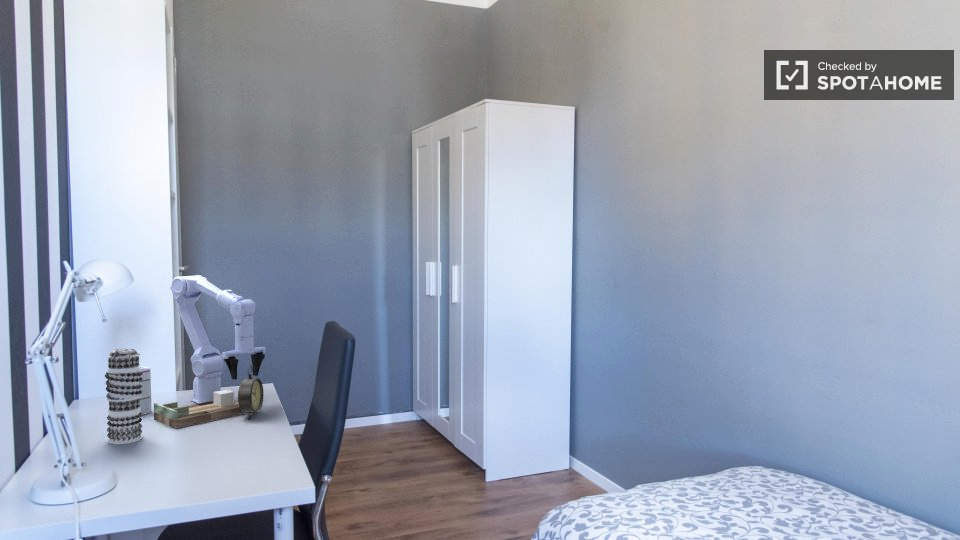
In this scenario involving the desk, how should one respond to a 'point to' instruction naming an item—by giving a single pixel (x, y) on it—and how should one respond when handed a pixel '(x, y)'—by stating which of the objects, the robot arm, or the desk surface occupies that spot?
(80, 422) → the desk surface
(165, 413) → the trap board
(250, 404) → the alarm clock
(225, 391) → the white block
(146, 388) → the syrup box
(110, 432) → the decorative candle
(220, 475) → the desk surface
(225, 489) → the desk surface
